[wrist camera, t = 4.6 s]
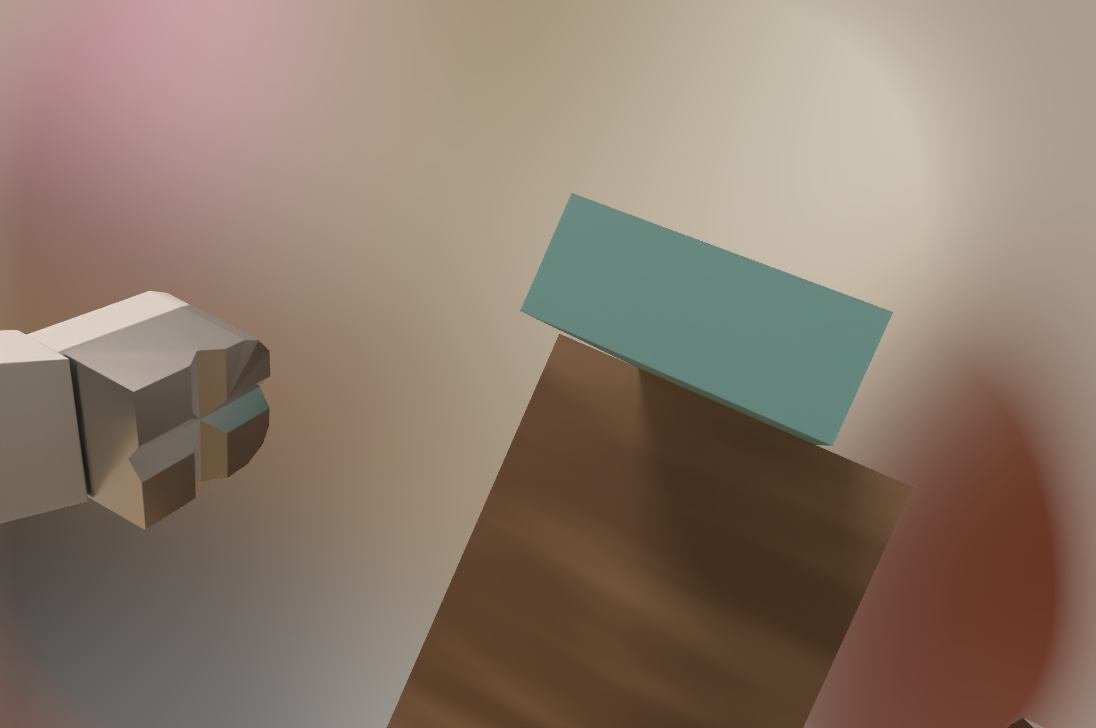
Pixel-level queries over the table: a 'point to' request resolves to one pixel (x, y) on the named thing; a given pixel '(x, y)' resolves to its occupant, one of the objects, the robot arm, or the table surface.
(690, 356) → the lid slat
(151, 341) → the robot arm
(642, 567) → the walnut shelf
